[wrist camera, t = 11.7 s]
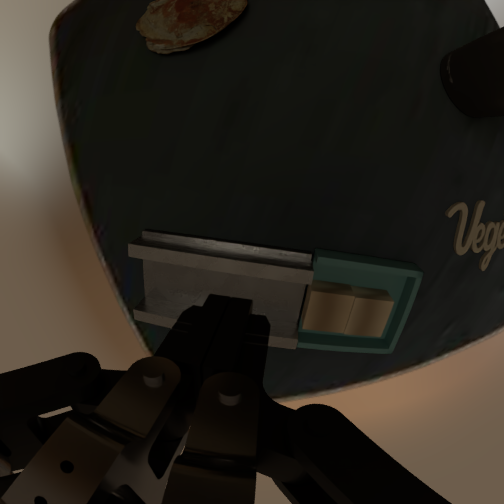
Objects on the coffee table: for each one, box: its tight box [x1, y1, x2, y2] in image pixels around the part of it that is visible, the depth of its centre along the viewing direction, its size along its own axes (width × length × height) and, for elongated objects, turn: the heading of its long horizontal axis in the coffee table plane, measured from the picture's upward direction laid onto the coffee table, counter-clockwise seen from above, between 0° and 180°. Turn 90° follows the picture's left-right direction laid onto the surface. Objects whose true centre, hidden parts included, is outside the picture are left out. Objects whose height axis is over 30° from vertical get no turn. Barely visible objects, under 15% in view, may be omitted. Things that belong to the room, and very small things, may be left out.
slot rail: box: [128, 229, 314, 349], centre depth 31 cm, size 20×11×4 cm, turn 84°
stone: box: [136, 0, 247, 54], centre depth 22 cm, size 13×10×3 cm
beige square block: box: [301, 279, 355, 333], centre depth 31 cm, size 5×5×3 cm
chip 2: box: [343, 286, 394, 337], centre depth 30 cm, size 5×5×3 cm
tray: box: [297, 248, 424, 354], centre depth 31 cm, size 13×12×3 cm
